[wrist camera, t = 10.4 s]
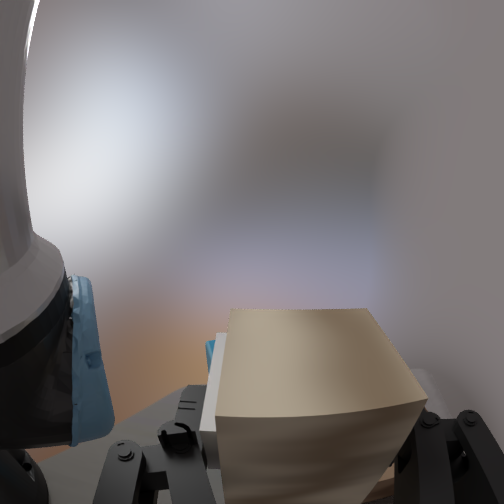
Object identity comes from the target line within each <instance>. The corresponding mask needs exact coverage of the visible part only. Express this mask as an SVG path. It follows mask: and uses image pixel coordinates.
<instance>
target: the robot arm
mask: <svg viewBox="0 0 504 504" xmlns="http://www.w3.org/2000/svg"><path fill="white" fill-rule="evenodd" d="M38 3H39V0H0V504H47V503H48V491H47V485H46V481H45V478H44V476H43V473H42V471H41V470H40V468H39V466H38V465H37V464H36V462H35V461H34V460H33V459H32V458H31V457H30V455H29V454H28V453H27V452H26V451H25V449H30V448H42V447H52V446H60V445H69V446H70V447H74V446H77V445H78V443H81V442H85V441H90V440H94V439H98V438H102V437H104V436H106V435H108V434H109V433H110V432H111V430H112V428H113V426H114V421H115V417H114V411H113V406H112V402H111V397H110V393H109V388H108V384H107V379H106V374H105V370H104V365H103V361H102V357H101V349H100V343H99V336H98V328H97V322H96V315H95V307H94V299H93V292H92V285H91V282H90V280H89V279H88V278H86V277H79V276H76V275H71V276H70V277H69V278H67V276H66V271H65V267H64V262H63V259H62V256H61V254H60V251H59V249H57V247H56V246H55V245H53V244H52V243H50V242H49V241H47V240H45V239H44V238H42V237H40V236H39V235H37V234H36V233H35V232H34V231H33V229H32V223H31V218H30V211H29V205H28V197H27V189H26V180H25V168H24V154H23V153H24V152H23V99H24V85H25V74H26V65H27V57H28V50H29V44H30V38H31V33H32V28H33V23H34V19H35V15H36V10H37V6H38ZM226 336H227V333H217V335H216V340H215V345H214V351H213V356H212V361H211V367H210V372H209V378H208V383H207V386H202V385H188V386H187V387H186V388H185V389H184V390H183V392H182V394H181V398H180V402H179V405H178V409H177V412H176V416H175V420H172V421H169V422H166V423H165V424H163V425H162V426H161V427H160V428H159V430H158V438H159V441H160V444H158V445H154V446H145V447H140V446H139V445H138V444H137V443H135V442H133V441H130V440H121V441H118V442H116V443H114V444H113V445H112V446H111V447H110V449H109V451H108V454H107V457H106V460H105V463H104V466H103V470H102V473H101V476H100V479H99V483H98V486H97V490H96V493H95V496H94V500H93V504H157V498H158V491H159V490H165V489H169V490H170V495H171V500H172V504H216V501H215V498H214V495H213V492H212V489H211V486H210V483H209V479H208V476H207V473H206V469H207V466H208V469H221V468H220V460H219V452H218V443H217V433H216V424H215V410H216V403H217V396H218V389H219V383H220V376H221V369H222V362H223V356H224V349H225V342H226ZM463 451H465V453H466V455H465V454H464V452H463ZM393 463H394V504H504V454H503V452H502V450H501V449H500V447H499V445H498V443H497V442H496V440H495V438H494V437H493V435H492V434H491V432H490V430H489V429H488V427H487V426H486V424H485V422H484V421H483V419H482V418H481V416H480V415H479V414H478V413H477V412H475V411H472V410H464V411H463V412H460V414H459V415H458V417H457V419H440V417H439V416H438V415H437V414H435V413H432V412H427V411H426V409H425V408H423V410H422V412H421V414H420V416H419V417H418V419H417V421H416V423H415V425H414V426H413V428H412V430H411V432H410V433H409V435H408V437H407V439H406V440H405V442H404V443H403V445H402V447H401V448H400V450H399V452H398V453H397V455H396V456H395V458H394V459H393V461H392V462H391V464H390V465H389V467H391V466H392V464H393Z"/></svg>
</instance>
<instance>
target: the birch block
mask: <svg viewBox="0 0 504 504" xmlns="http://www.w3.org/2000/svg"><path fill="white" fill-rule="evenodd" d="M427 400H428V397H427V395H426V394H425V392H424V391H423V389H422V388H421V386H420V384H419V383H418V381H417V380H416V378H415V377H414V375H413V374H412V372H411V371H410V369H409V368H408V366H407V365H406V364H405V362H404V360H403V359H402V358H401V356H400V355H399V353H398V352H397V351H396V349H395V347H394V346H393V344H392V343H391V342H390V340H389V339H388V337H387V336H386V335H385V333H384V332H383V330H382V329H381V327H380V326H379V325H378V323H377V322H376V321H375V319H374V318H373V316H372V315H371V314H370V312H369V311H368V310H367V308H366V309H365V308H363V309H322V310H265V309H263V310H262V309H231V310H230V316H229V323H228V329H227V336H226V342H225V349H224V356H223V362H222V369H221V376H220V383H219V389H218V396H217V403H216V410H215V424H216V433H217V443H218V452H219V460H220V468H221V476H222V484H223V491H224V498H225V504H361V503H362V501H363V500H364V499H365V498H366V496H367V495H368V494H369V493H370V491H371V490H372V489H373V487H374V486H375V485H376V483H377V482H378V481H379V479H380V478H381V477H382V475H383V474H384V472H385V471H386V470H387V468H388V467H389V465H390V464H391V462H392V461H393V459H394V458H395V456H396V455H397V453H398V452H399V450H400V448H401V447H402V445H403V443H404V442H405V440H406V439H407V437H408V435H409V433H410V432H411V430H412V428H413V426H414V425H415V423H416V421H417V419H418V417H419V416H420V414H421V412H422V410H423V408H424V406H425V404H426V402H427Z"/></svg>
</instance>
